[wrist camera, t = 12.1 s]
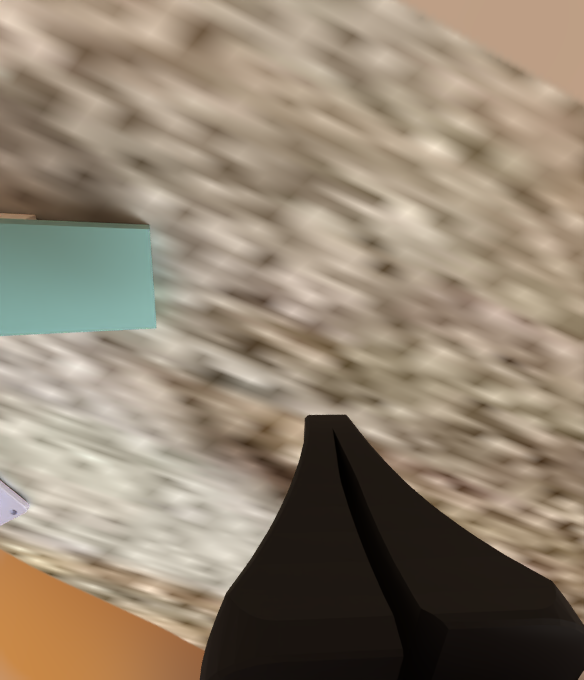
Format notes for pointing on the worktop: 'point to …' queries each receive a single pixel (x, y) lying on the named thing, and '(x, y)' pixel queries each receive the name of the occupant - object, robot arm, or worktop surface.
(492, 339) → the worktop surface
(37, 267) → the end tile
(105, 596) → the worktop surface
